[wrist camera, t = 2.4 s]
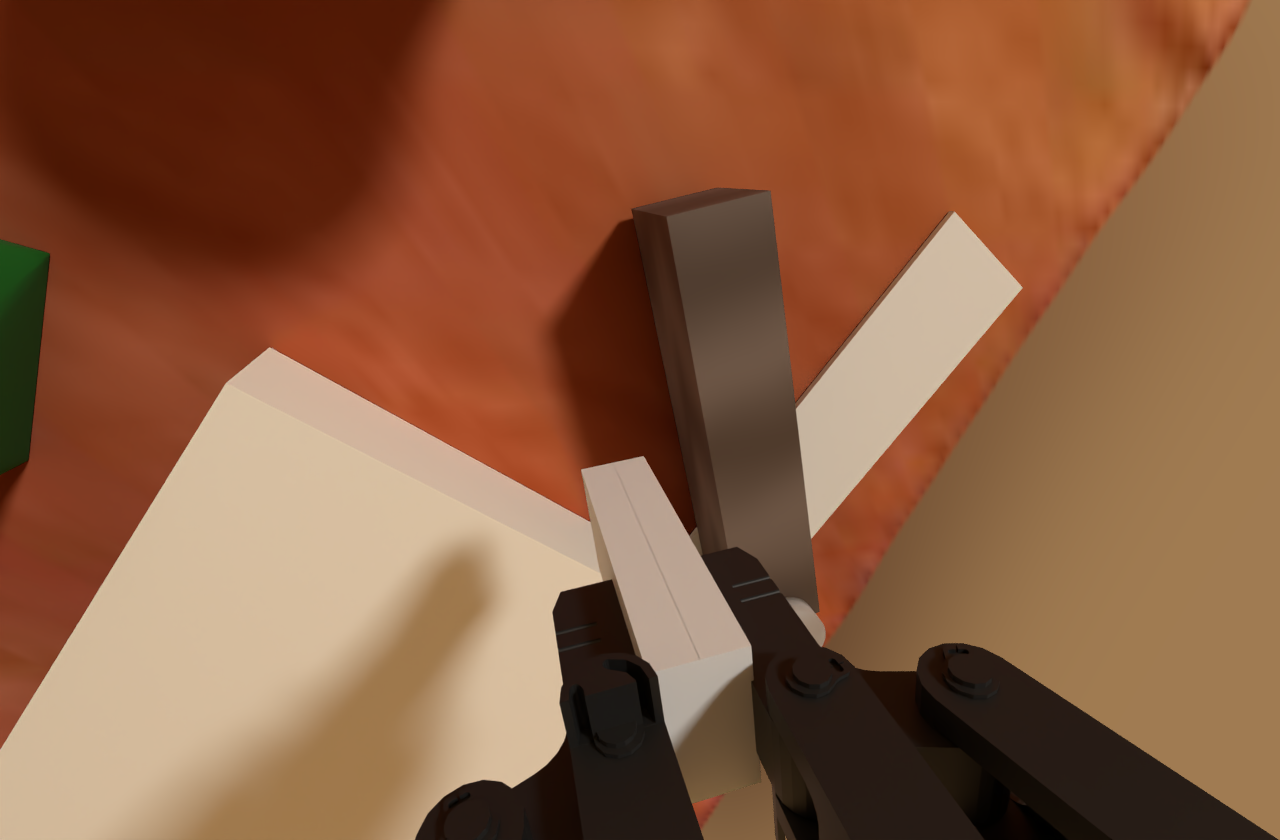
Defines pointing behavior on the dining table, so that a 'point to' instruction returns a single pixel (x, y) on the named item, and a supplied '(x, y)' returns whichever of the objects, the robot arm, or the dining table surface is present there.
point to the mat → (896, 361)
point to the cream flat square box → (303, 635)
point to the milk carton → (19, 346)
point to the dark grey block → (732, 379)
